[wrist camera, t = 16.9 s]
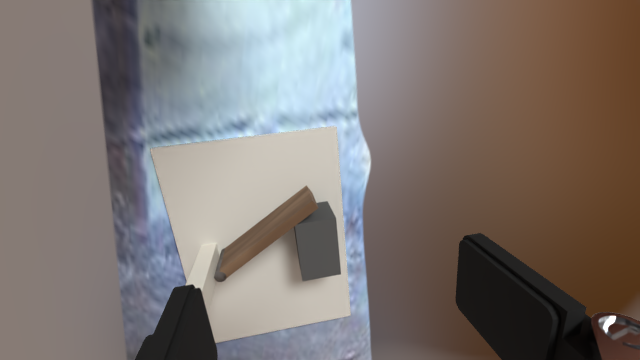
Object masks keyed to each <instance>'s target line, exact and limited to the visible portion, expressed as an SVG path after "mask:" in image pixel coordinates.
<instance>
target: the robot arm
mask: <svg viewBox="0 0 640 360" xmlns="http://www.w3.org/2000/svg"><path fill="white" fill-rule="evenodd" d="M456 303H457V306H458V308H459V310H460V311H461V312H462V313H463V314H464V316H465V317H466V318H467V319H468V320H469V322H470V323H471V324H472V325H473V326H474V327H475V329H476V330H477V331H478V332H479V333H480V335H481V336H482V337H483V338H484V339H485V340H486V342H487V343H488V344H489V345H490V346H491V347H492V349H493V350H494V351H495V352H496V353H497V355H498V356H499V357H500V358H501V359H502V360H640V321H638V320H636V319H633V318H631V317H628V316H625V315H622V314H618V313H612V312H600V313H597V314H594V315H593V317H592V318H590V317H589V316H587V315H586V314H585V311H586V307H585V306H584V305H582V304H581V303H579V302H578V301H577V300H575V299H574V298H572V297H571V296H570V295H568V294H567V293H565V292H564V291H562V290H561V289H560V288H558V287H557V286H555V285H554V284H553V283H551V282H550V281H548V280H547V279H545V278H544V277H543V276H541V275H540V274H538V273H537V272H536V271H534V270H533V269H531V268H530V267H529V266H527V265H526V264H524V263H523V262H521V261H520V260H519V259H517V258H516V257H514V256H513V255H512V254H510V253H509V252H507V251H506V250H505V249H503V248H502V247H500V246H499V245H497V244H496V243H495V242H493V241H492V240H490V239H489V238H488V237H486V236H485V235H483V234H481V233H478V234H472V235H467V236H464V238H463V240H462V241H460V244H459V257H458V271H457V287H456ZM135 360H217V348H216V344H215V340H214V336H213V333H212V329H211V325H210V321H209V318H208V314H207V310H206V306H205V302H204V299H203V295H202V291H201V289H200V288H195V286H194V285H193V284H191V285H186V286H180V287H175V288H174V289H173V291H172V293H171V295H170V298H169V300H168V302H167V304H166V307H165V309H164V311H163V313H162V316H161V318H160V320H159V323H158V325H157V327H156V329H155V332H154V334H153V335H149V336H147V337H146V338H145V340H144V342H143V344H142V346H141V348H140V350H139V352H138V354H137V356H136V359H135Z"/></svg>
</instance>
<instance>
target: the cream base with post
mask: <svg viewBox="0 0 640 360" xmlns="http://www.w3.org/2000/svg"><path fill="white" fill-rule="evenodd" d="M150 151H151V155H152V158H153V162H154V165H155V169H156V173H157V176H158V180H159V183H160V187H161V191H162V194H163V198H164V201H165V205H166V209H167V212H168V216H169V219H170V223H171V226H172V230H173V234H174V237H175V241H176V244H177V248H178V252H179V255H180V259H181V262H182V266H183V270H184V273H185V277H186V280H187V283H186V285H191V284H193V285H194V286H195V288H200V289H201V291H202V295H203V299H204V302H205V306H206V310H207V314H208V318H209V321H210V325H211V329H212V333H213V336H214V340H215V343H218V342H223V341H228V340H233V339H238V338H243V337H248V336H253V335H258V334H263V333H267V332H272V331H277V330H282V329H287V328H292V327H297V326H302V325H307V324H312V323H317V322H321V321H326V320H331V319H336V318H341V317H346V316H351V314H350V301H349V287H348V274H347V260H346V247H345V233H344V220H343V207H342V193H341V180H340V166H339V153H338V139H337V127H336V126H330V127H321V128H313V129H305V130H296V131H288V132H279V133H271V134H263V135H254V136H246V137H238V138H229V139H221V140H212V141H204V142H196V143H187V144H179V145H170V146H162V147H154V148H151V149H150ZM306 185H307V187H308V188H309V189H310V190H311V191H312V193H313V196H314V198H315V200H316V203H319V202H325V201H328V203H329V205H330V207H331V209H332V211H333V213H334V215H335V217H336V222H337V233H338V245H339V256H340V267H341V274H340V275H335V276H329V277H324V278H319V279H314V280H308V281H302V276H301V270H300V265H299V259H298V253H297V245H296V238H295V231H294V227H293V228H292V229H290V230H289V231H288V232H286V233H285V234H284V235H283V236H281V237H280V238H279V239H277V240H276V241H275V242H273V243H272V244H271V245H269V246H268V247H267V248H266V249H264V250H263V251H262V252H260V253H259V254H258V255H256V256H255V257H254V258H252V259H251V260H250V261H249V262H247V263H246V264H245V265H243V266H242V267H241V268H239V269H238V270H237V271H235V272H234V273H233V274H231V275H230V276H229V277H228V278H226V280H225V281H223V282H217V281H216V280H215V278H214V276H215V272H216V268H217V264H218V261H219V257H220V253H221V250H222V249H224V248H226V247H227V246H228V245H230V244H231V243H232V242H234V241H235V240H236V239H237V238H239V237H240V236H241V235H243V234H244V233H245V232H247V231H248V230H249V229H250V228H252V227H253V226H254V225H256V224H257V223H258V222H260V221H261V220H262V219H263V218H265V217H266V216H267V215H269V214H270V213H271V212H272V211H274V210H275V209H276V208H278V207H279V206H280V205H282V204H283V203H284V202H285V201H287V200H288V199H289V198H291V197H292V196H293V195H295V194H296V193H297V192H298V191H300V190H301V189H302V188H304V187H305V186H306ZM186 285H185V286H186Z"/></svg>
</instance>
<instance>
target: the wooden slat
mask: <svg viewBox="0 0 640 360" xmlns="http://www.w3.org/2000/svg"><path fill="white" fill-rule="evenodd" d="M317 209H318V205H317V203H316V200H315V198H314V196H313V193H312V191H311V190H310V189H309V188H308V187H307V185H306V186H305V187H304V188H302V189H301V190H300V191H298V192H297V193H296V194H295V195H293V196H292V197H291V198H289V199H288V200H287V201H285V202H284V203H283V204H282V205H280V206H279V207H278V208H276V209H275V210H274V211H272V212H271V213H270V214H269V215H267V216H266V217H265V218H263V219H262V220H261V221H260V222H258V223H257V224H256V225H254V226H253V227H252V228H250V229H249V230H248V231H247V232H245V233H244V234H243V235H241V236H240V237H239V238H237V239H236V240H235V241H234V242H232V243H231V244H230V245H228V246H227V247H226V248H224V249H222V250H221V253H220V257H219V261H218V264H217V268H216V272H215V276H214V278H215V280H216V281H217V282H223V281H225V280H226V278H228V277H229V276H230V275H231V274H233V273H234V272H235V271H237V270H238V269H239V268H241V267H242V266H243V265H245V264H246V263H247V262H249V261H250V260H251V259H252V258H254V257H255V256H256V255H258V254H259V253H260V252H262V251H263V250H264V249H266V248H267V247H268V246H269V245H271V244H272V243H273V242H275V241H276V240H277V239H279V238H280V237H281V236H283V235H284V234H285V233H286V232H288V231H289V230H290V229H292V228H293V227H294V226H296V225H297V224H298V223H300V222H301V221H302V220H304V219H305V218H306V217H307V216H309V215H310V214H311V213H313V212H314V211H315V210H317Z"/></svg>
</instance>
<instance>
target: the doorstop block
mask: <svg viewBox="0 0 640 360" xmlns="http://www.w3.org/2000/svg"><path fill="white" fill-rule="evenodd" d="M317 205H318V209H317V210H315V211H314V212H313V213H311V214H310V215H309V216H307V217H306V218H305V219H304V220H302V221H301V222H300V223H298V224H297V225H296V226H294V231H295V238H296V245H297V253H298V259H299V265H300V270H301V276H302V281H308V280H314V279H319V278H324V277H329V276H335V275H340V274H341V267H340V256H339V245H338V233H337V222H336V217H335V215H334V213H333V211H332V209H331V207H330V205H329V203H328V201H325V202H319V203H317Z"/></svg>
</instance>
